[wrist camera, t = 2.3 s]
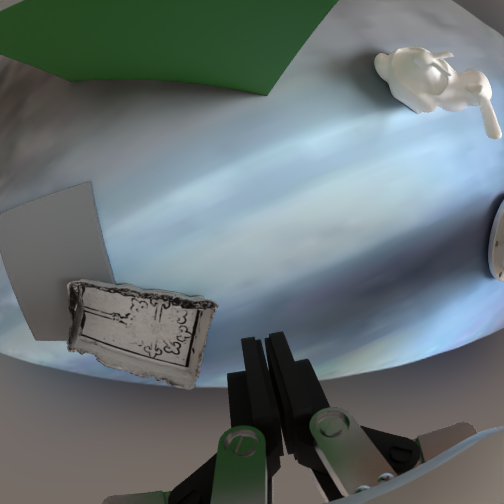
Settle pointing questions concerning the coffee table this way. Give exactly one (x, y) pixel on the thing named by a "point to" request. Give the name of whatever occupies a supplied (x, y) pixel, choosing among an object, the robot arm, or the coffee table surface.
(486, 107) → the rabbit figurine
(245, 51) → the hardback book
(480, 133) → the coffee table surface
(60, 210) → the mat
